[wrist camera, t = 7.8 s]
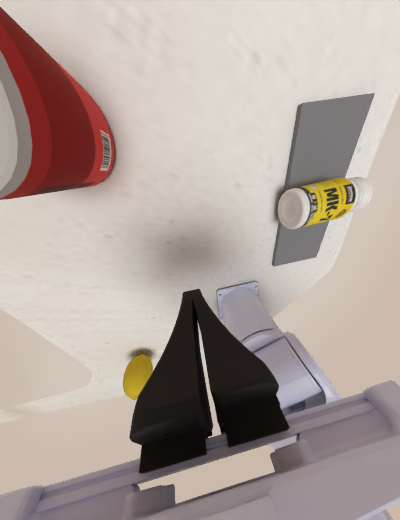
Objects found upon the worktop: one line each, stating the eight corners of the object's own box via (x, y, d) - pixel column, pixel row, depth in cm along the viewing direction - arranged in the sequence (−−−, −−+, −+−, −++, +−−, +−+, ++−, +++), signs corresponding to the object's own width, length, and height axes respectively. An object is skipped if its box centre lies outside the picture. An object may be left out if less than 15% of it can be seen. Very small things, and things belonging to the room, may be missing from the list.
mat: (313, 255, 26) (316, 257, 25) (271, 264, 25) (274, 266, 25) (368, 95, 15) (374, 93, 15) (298, 105, 14) (302, 103, 14)
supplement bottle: (307, 190, 14) (386, 170, 14) (277, 188, 18) (338, 173, 18) (300, 235, 16) (367, 217, 17) (275, 225, 20) (329, 211, 21)
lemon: (142, 362, 35) (134, 407, 28) (123, 354, 32) (110, 403, 25) (159, 352, 34) (156, 396, 27) (142, 343, 31) (133, 391, 24)
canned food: (71, 50, 11) (-594, -757, 1) (134, 168, 15) (72, 157, 6) (-14, 96, 11) (-933, -288, 2) (72, 197, 15) (-80, 233, 6)
